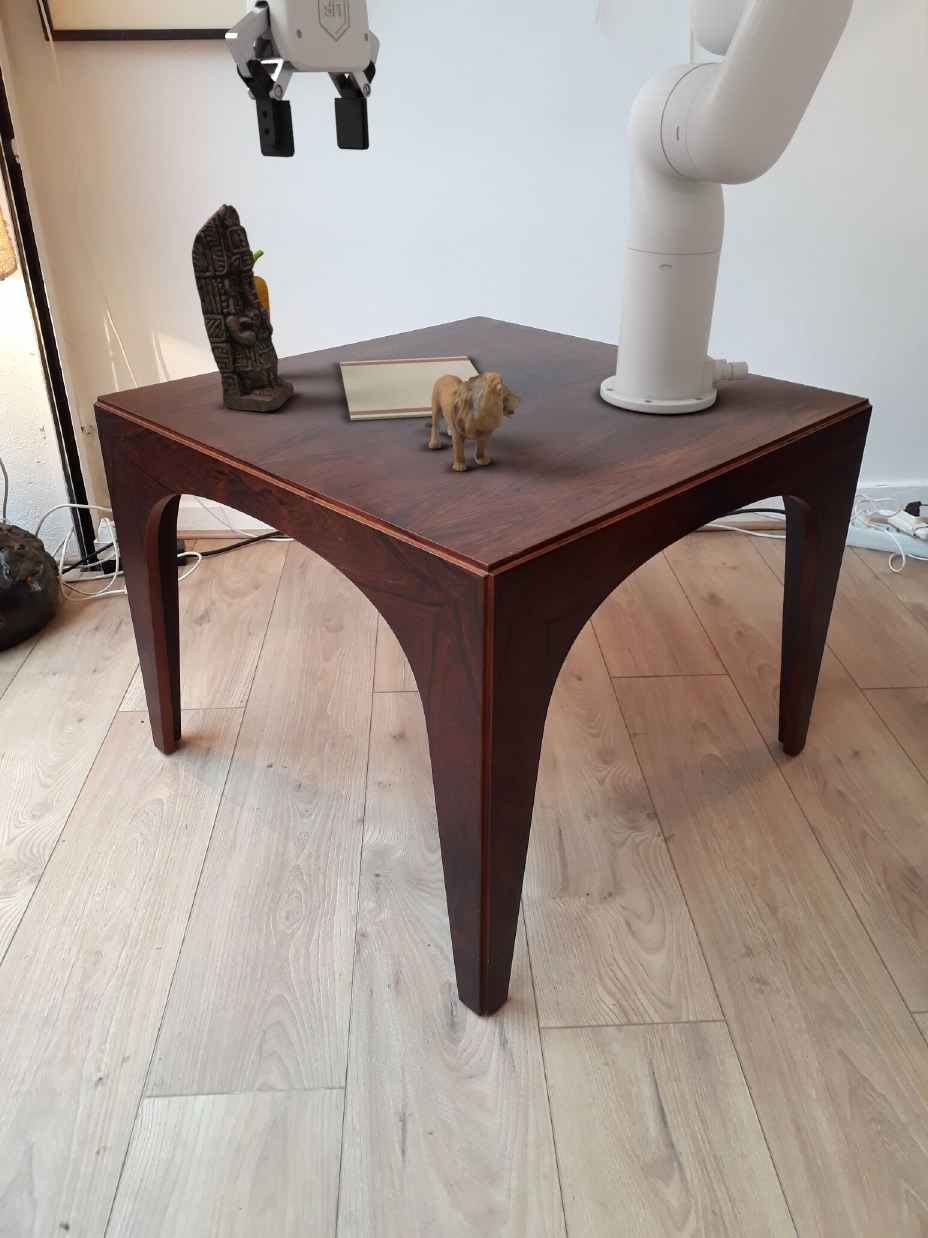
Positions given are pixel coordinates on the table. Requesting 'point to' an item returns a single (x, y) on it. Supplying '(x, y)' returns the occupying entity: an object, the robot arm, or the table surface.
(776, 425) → the table surface
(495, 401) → the lion figurine
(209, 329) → the statue
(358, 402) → the napkin
